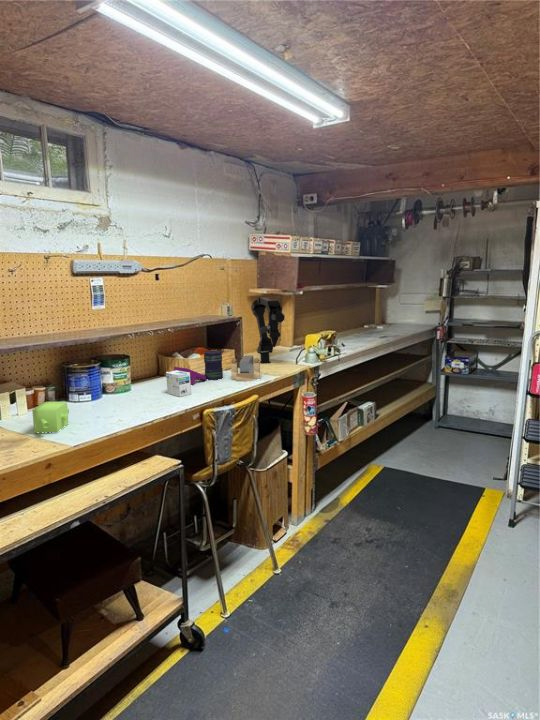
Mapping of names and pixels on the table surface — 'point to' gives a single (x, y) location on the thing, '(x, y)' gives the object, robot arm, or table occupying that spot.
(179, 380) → the light bulb box
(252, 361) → the silver rectangular block
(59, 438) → the table surface
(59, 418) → the gearbox
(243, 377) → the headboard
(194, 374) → the mounting bracket
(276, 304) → the robot arm
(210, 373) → the storage jar
